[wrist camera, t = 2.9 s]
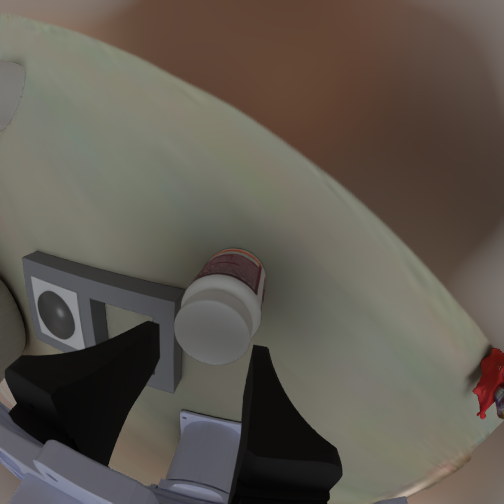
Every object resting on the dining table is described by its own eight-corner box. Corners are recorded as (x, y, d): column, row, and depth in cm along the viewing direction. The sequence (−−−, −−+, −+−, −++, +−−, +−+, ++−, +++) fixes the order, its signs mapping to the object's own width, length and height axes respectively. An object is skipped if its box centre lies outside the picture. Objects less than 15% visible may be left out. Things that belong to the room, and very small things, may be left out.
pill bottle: (195, 259, 21) (150, 307, 13) (252, 238, 21) (234, 280, 13) (220, 311, 23) (192, 377, 14) (275, 294, 22) (271, 360, 14)
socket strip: (181, 378, 25) (171, 397, 22) (48, 329, 26) (34, 340, 23) (184, 289, 22) (172, 305, 19) (36, 251, 23) (18, 259, 20)
